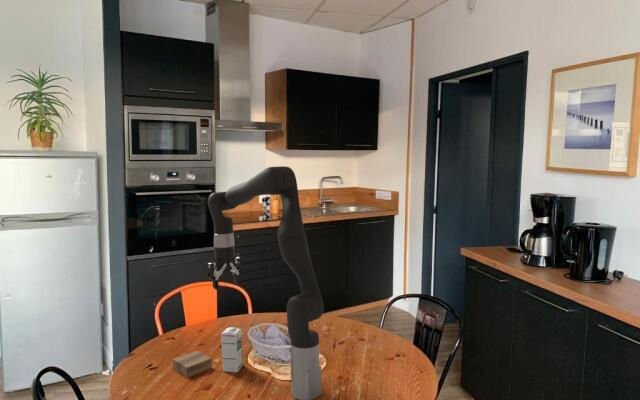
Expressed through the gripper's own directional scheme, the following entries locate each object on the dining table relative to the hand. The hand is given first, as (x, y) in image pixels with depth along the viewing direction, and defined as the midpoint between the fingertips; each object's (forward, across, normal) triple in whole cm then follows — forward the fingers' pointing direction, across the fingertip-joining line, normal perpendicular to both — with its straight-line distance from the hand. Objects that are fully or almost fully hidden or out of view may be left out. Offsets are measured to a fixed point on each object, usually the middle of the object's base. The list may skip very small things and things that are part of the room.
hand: (226, 287), depth 179 cm
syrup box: (+28, -4, -9) cm, 30 cm away
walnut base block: (+28, -15, +2) cm, 32 cm away
